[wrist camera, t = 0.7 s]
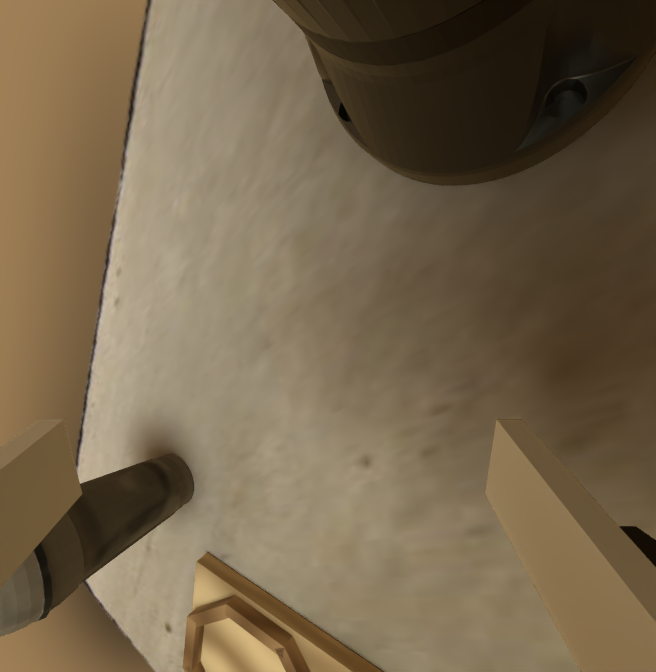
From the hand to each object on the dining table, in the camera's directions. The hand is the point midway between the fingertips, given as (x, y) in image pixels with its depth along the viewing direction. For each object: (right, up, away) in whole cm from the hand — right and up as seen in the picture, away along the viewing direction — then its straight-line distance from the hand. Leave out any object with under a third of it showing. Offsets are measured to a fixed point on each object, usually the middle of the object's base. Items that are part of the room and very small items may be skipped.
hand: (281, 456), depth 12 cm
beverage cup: (-12, -9, +22) cm, 26 cm away
